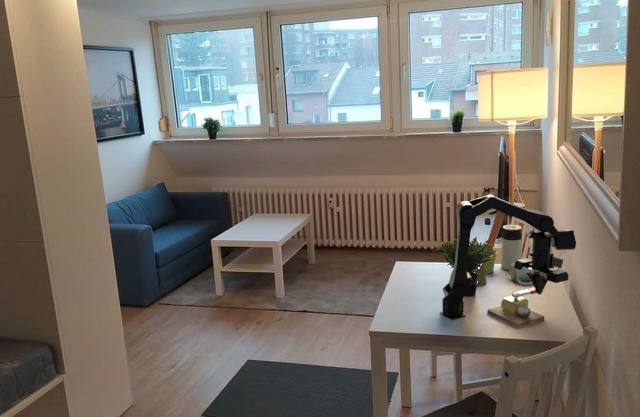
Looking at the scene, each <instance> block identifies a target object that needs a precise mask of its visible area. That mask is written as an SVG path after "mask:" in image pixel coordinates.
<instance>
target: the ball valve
mask: <svg viewBox="0 0 640 417" xmlns="http://www.w3.org/2000/svg"><path fill="white" fill-rule="evenodd" d="M500 306H502V308H503V312H505V313H507V314H509V315H511V316H513V317H519V316H521V317H523V318H527V317H529V315H530V310H531V309H530V308H529V300H528V299H527V298H525V297H523V296H520V297H519V298H515V297H512V295H510V296H506V297H503V299H502V301H501V303H500Z"/></svg>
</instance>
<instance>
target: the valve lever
mask: <svg viewBox="0 0 640 417" xmlns="http://www.w3.org/2000/svg"><path fill="white" fill-rule="evenodd" d="M534 294H537V292H536V290H535V287H534V286H533V287H529V288H527V289H524V290H519V291H513V292H511V296H512V297H515V298H519V297H523V296H527V295H534Z"/></svg>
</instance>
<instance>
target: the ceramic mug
mask: <svg viewBox="0 0 640 417" xmlns="http://www.w3.org/2000/svg"><path fill="white" fill-rule="evenodd" d="M514 264H515V263H513V264H511V265H510V267H509V270H508V271H509V272H508V273H509V277H510V279H511V281H514V282H517V283H519V285H522V286H525V287H526V286H531V285H532V284H533V283H532V281H531V280H530V278H529V276H528V275H527V274H526V273H528V268H525V267H523V269H521V270H518V269H515V268H514ZM528 281H529V282H528Z"/></svg>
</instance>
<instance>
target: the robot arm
mask: <svg viewBox="0 0 640 417" xmlns="http://www.w3.org/2000/svg"><path fill="white" fill-rule="evenodd" d="M491 210H495V211H497V212H500V213H502V214H506V215H508V216H511V217H513V218H515V219H518V220H521V221H523V222H525V223H527V224H528V225H529V226H531V227H532V228H534V229H536V230H538V231H535V230H534V229H531V230H530V231H528V232H527V233H526V236H527V238H528V239H532V248H531V249H532V250H531V251H530V252H529V256H530V257H531V259H530V258H527V257H525V258H521V259H520V260H516V262H515V264H514V268H515V269H518V270H521V269H523V267H525V268H528V273H526V274H527V275H528V276H529V278H530V280H531V281H532V284H533V287H535V290H536V292H537V293H536V294H537V295H542V294H543V292H544V289H545V287H546V285H547V283H548V282H552V283H554V284H558V283H562V282H566V281H569V275H570V274H569V273H568V271H565V270H563V269H562V266H563V263H564V259H562V258H559V257H556V256H554V253H553V252H551V250H552V249H551V247H552V248H554V250H555V251H571V250H572V251H573V250H575V249H576V247H577V240H576V236H575V231H574V230H573V229H572V228H569V229H568V228H567V229H557V228H556V227H555V225H554V224H555V221H554V219H553V217H552V216H550V215H549V214H547V213H546V212H545V211H540V210H535V209H529V208H525V207H523V206H522V207H521V206H519V205H516V204H515V203H512V202H508V201H507V200H504V199H502V198H499V197H497V196H494V194H487V195H485V196H482V197H478V198H477V197H476V198H473V199H470V200H469V201H467V200H464V201H463V200H462V201H460V202H459V203H458V204H457V205H456V208H455V212H456V221H457V228H458V229H457V238H456V249H455V258H454V267H453V269H452V271H451V273H450V277H449V280H448V283H447V284H446V285H445V286H444V287H442V292H443V295H444V297H443V298H442V311H440V312H439V315H441V316H443V317H445V318H447V319H448V320H451V321H452V320H455V319H459V318H462V317H466V313H464V302H465V301H464V297H465V296H467V294H468V293H469V290H472V288H471V280H472V275H471V274H470V272H469V271H468V260H469V253H470V252H469V250H470V241H471V232H472V230H473V227H474V226H475V222H476V219H477V217H479V216H481V215H483V214H485V213H487V212H488V211H491ZM555 268H557V269H555ZM467 271H468V272H467Z"/></svg>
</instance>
